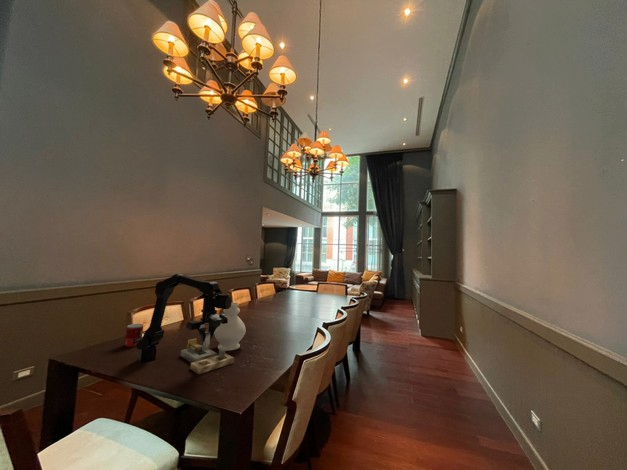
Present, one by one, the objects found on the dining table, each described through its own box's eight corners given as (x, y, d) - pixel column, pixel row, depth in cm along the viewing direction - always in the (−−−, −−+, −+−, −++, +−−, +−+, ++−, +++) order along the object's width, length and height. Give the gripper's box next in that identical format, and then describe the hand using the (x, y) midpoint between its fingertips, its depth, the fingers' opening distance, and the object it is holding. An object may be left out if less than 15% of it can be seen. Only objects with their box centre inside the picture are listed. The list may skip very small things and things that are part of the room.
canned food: (135, 347, 140) (137, 327, 141) (121, 346, 140) (123, 326, 141) (144, 343, 147) (146, 324, 148) (131, 342, 147) (133, 323, 148)
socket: (195, 365, 121) (196, 355, 122) (180, 356, 131) (181, 346, 132) (216, 359, 130) (217, 349, 130) (200, 350, 140) (201, 341, 140)
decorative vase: (248, 343, 156) (251, 302, 158) (237, 353, 138) (240, 307, 141) (221, 340, 158) (224, 300, 160) (206, 350, 140) (210, 305, 143)
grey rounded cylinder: (204, 351, 118) (205, 333, 119) (201, 349, 120) (202, 332, 121) (210, 349, 121) (211, 332, 121) (207, 347, 122) (208, 331, 123)
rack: (198, 374, 112) (200, 360, 113) (190, 368, 117) (191, 355, 118) (233, 362, 126) (234, 350, 127) (224, 358, 131) (225, 346, 132)
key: (194, 351, 130) (195, 343, 130) (187, 347, 135) (187, 340, 135) (202, 349, 133) (203, 341, 133) (195, 345, 138) (195, 338, 138)
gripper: (199, 313, 110) (196, 350, 108) (235, 307, 125) (233, 340, 123) (186, 309, 117) (183, 344, 115) (222, 304, 132) (220, 335, 130)
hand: (206, 340), depth 121 cm, fingers closed on grey rounded cylinder, 3 cm apart
